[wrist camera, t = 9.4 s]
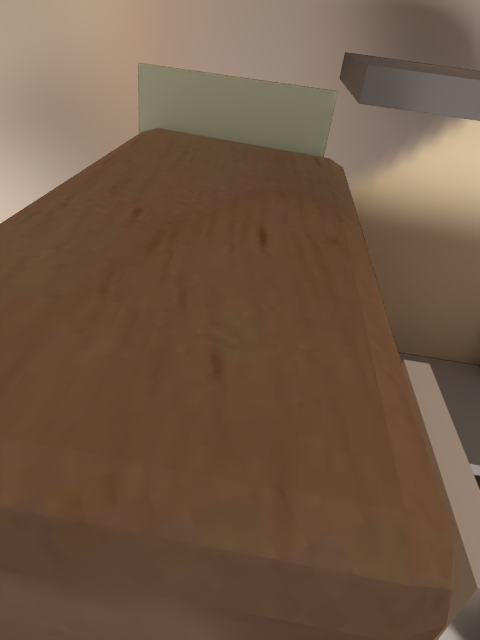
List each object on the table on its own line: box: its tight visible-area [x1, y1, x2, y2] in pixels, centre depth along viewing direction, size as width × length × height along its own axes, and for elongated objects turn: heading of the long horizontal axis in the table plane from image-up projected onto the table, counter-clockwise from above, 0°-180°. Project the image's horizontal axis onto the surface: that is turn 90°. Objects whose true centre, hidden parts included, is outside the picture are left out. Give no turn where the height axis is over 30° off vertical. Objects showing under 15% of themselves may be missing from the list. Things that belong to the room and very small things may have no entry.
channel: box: [340, 52, 480, 476], centre depth 20 cm, size 16×12×8 cm
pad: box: [138, 63, 337, 157], centre depth 24 cm, size 13×9×1 cm
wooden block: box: [0, 128, 454, 640], centre depth 16 cm, size 10×10×20 cm
